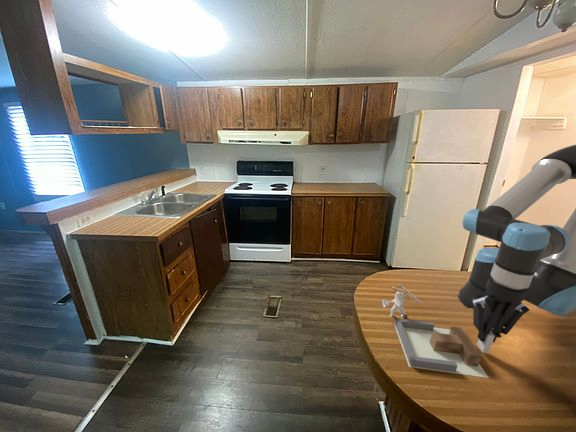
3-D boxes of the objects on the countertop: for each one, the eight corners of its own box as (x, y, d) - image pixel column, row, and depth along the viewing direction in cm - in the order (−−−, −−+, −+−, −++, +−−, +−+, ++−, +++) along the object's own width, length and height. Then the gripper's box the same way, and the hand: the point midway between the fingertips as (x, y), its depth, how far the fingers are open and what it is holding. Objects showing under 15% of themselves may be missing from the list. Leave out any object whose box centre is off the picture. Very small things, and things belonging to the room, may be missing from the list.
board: (456, 332, 76) (458, 324, 75) (487, 380, 62) (491, 371, 60) (393, 325, 79) (394, 317, 78) (408, 369, 65) (410, 360, 63)
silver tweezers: (390, 288, 99) (391, 284, 98) (397, 285, 101) (398, 281, 100) (429, 317, 85) (430, 313, 84) (436, 313, 87) (438, 309, 86)
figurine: (408, 320, 82) (415, 292, 78) (387, 326, 79) (393, 298, 75) (398, 310, 86) (404, 284, 82) (378, 316, 83) (383, 289, 79)
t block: (458, 337, 73) (461, 327, 72) (477, 366, 64) (481, 356, 63) (425, 333, 75) (427, 323, 74) (438, 361, 66) (442, 351, 64)
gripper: (524, 275, 62) (497, 340, 70) (472, 271, 64) (451, 335, 72) (550, 293, 55) (517, 363, 63) (490, 287, 57) (465, 357, 65)
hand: (482, 348), depth 68 cm, fingers closed
